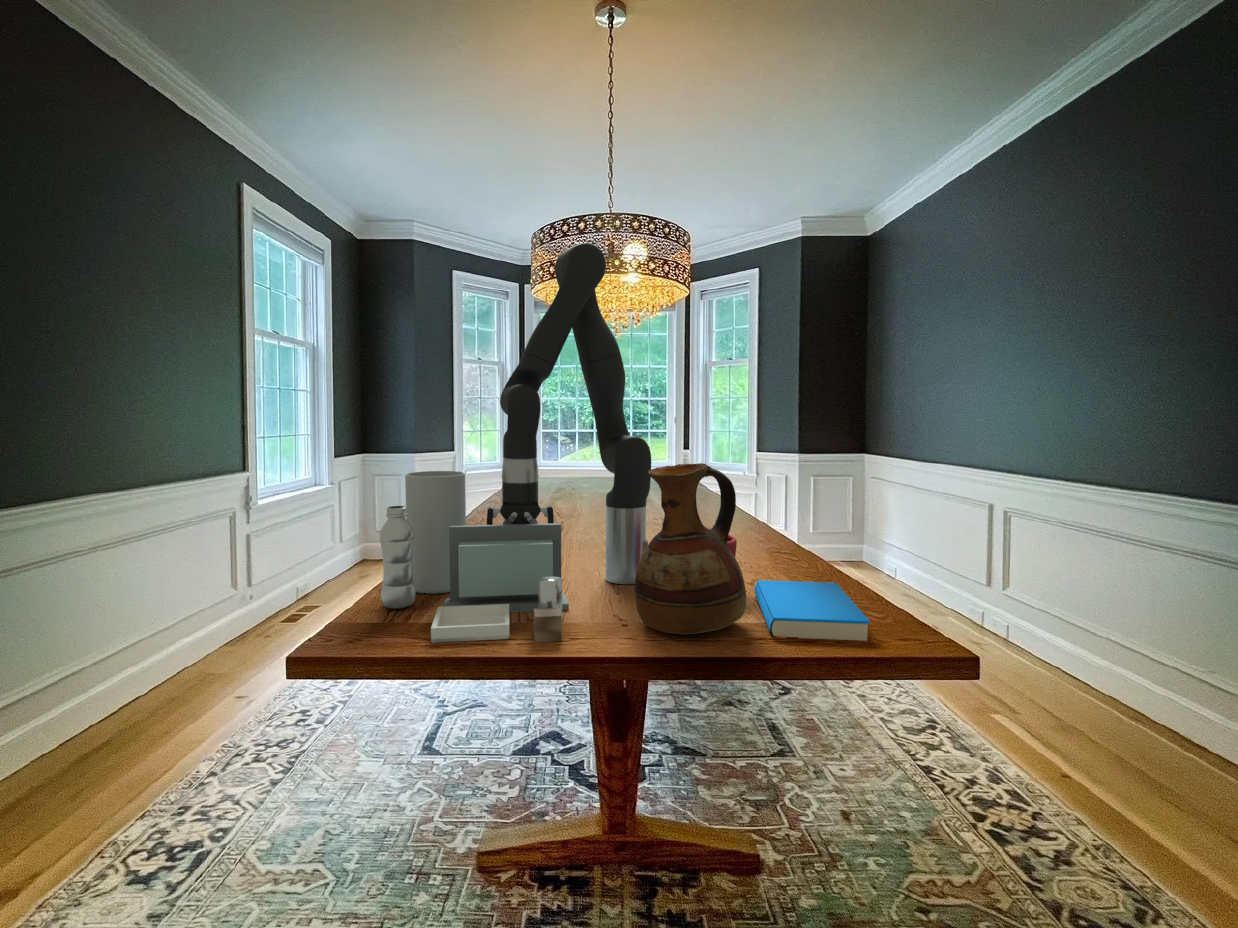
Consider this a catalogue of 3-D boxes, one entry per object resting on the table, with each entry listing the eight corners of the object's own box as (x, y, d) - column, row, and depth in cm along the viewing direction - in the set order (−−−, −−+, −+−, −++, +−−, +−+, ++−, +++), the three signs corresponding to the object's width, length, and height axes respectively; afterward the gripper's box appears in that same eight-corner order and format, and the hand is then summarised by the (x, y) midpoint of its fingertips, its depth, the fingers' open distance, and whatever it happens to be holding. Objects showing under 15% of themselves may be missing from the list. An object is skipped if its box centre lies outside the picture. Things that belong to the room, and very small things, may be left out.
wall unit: (565, 599, 136) (565, 522, 134) (568, 609, 129) (568, 529, 127) (446, 604, 132) (444, 525, 130) (442, 615, 125) (441, 532, 123)
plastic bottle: (423, 604, 132) (421, 505, 130) (401, 614, 125) (399, 510, 124) (396, 600, 134) (394, 503, 132) (373, 610, 127) (371, 508, 126)
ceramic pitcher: (617, 616, 125) (619, 459, 122) (709, 604, 133) (712, 457, 130) (665, 652, 107) (667, 469, 104) (767, 635, 115) (772, 465, 112)
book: (836, 582, 137) (871, 619, 113) (835, 602, 138) (870, 643, 113) (753, 579, 139) (770, 615, 114) (752, 599, 139) (769, 639, 114)
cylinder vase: (474, 580, 150) (472, 471, 148) (455, 595, 138) (453, 477, 135) (421, 578, 151) (419, 470, 149) (397, 593, 139) (395, 476, 137)
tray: (509, 616, 124) (509, 603, 124) (509, 638, 113) (509, 624, 112) (438, 619, 122) (438, 606, 122) (431, 642, 110) (430, 628, 110)
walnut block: (559, 632, 116) (559, 607, 116) (561, 641, 112) (561, 615, 111) (533, 633, 116) (533, 608, 115) (534, 642, 111) (534, 616, 111)
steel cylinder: (561, 617, 124) (561, 575, 124) (563, 624, 120) (563, 582, 119) (537, 618, 123) (537, 576, 123) (538, 626, 119) (538, 583, 118)
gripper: (552, 477, 143) (552, 550, 145) (486, 477, 141) (487, 552, 142) (555, 481, 136) (555, 558, 137) (485, 481, 133) (485, 560, 135)
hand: (520, 555), depth 140 cm, fingers open, 8 cm apart
